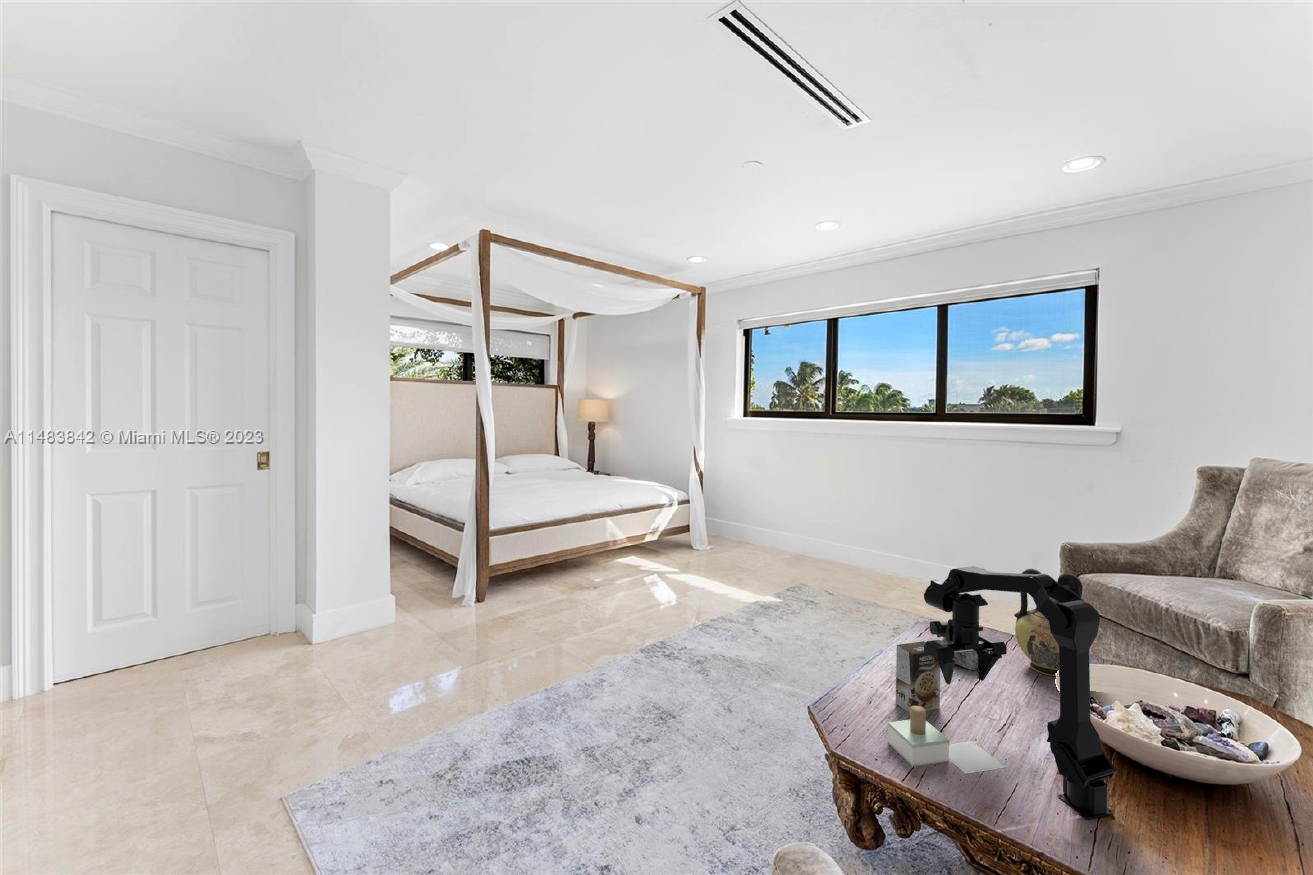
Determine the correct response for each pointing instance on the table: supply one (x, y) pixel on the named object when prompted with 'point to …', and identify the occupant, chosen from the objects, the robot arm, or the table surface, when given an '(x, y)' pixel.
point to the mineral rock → (965, 657)
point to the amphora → (1041, 629)
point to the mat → (972, 758)
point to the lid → (918, 730)
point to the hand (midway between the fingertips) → (964, 682)
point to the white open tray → (918, 751)
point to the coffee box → (917, 677)
